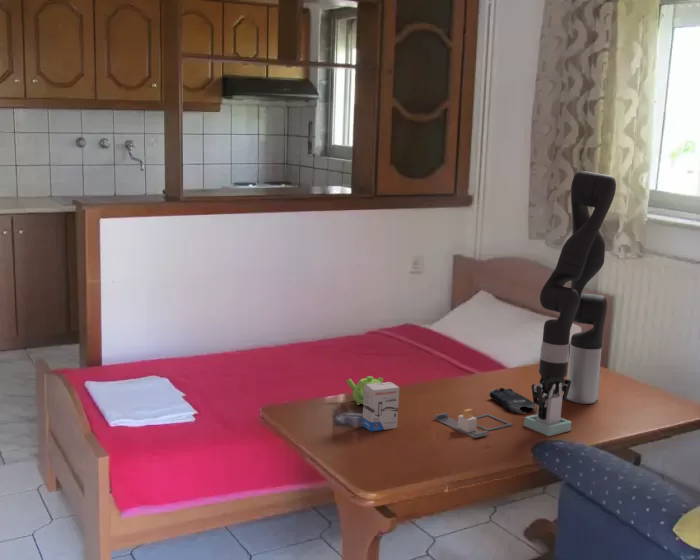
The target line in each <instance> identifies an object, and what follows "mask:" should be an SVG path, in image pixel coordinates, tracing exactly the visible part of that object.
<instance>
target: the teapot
mask: <svg viewBox="0 0 700 560" xmlns="http://www.w3.org/2000/svg"><path fill="white" fill-rule="evenodd" d="M383 382H384V378H383V377H380V376H378V378H374V376H372V375H371V376H370V375H368V376H366V377H363V378H361V379H360V380H359V381H358V382H357V383H356V384H355V383H354V381H353V380H352V379H351V378H348V379H347V380H346V383H347V385H348V387H350V389H351V390H352V398H353V400H354V401H355V402H356V404H357V403H359V404H363V400H364V385H366V384H374V383H383Z"/></svg>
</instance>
